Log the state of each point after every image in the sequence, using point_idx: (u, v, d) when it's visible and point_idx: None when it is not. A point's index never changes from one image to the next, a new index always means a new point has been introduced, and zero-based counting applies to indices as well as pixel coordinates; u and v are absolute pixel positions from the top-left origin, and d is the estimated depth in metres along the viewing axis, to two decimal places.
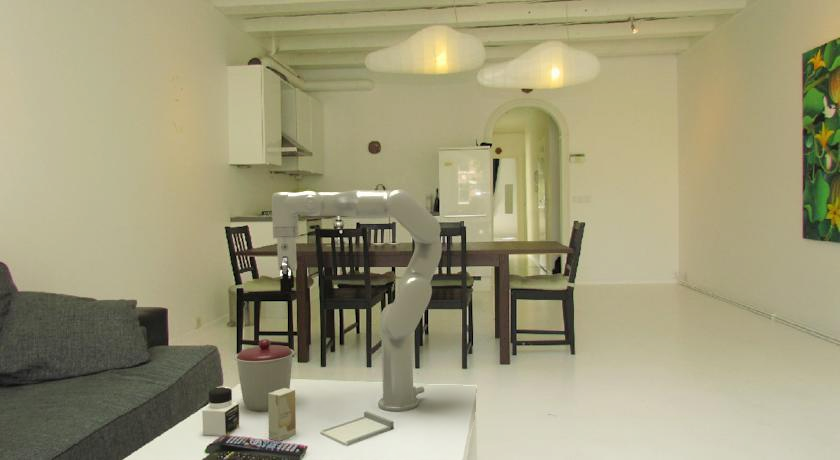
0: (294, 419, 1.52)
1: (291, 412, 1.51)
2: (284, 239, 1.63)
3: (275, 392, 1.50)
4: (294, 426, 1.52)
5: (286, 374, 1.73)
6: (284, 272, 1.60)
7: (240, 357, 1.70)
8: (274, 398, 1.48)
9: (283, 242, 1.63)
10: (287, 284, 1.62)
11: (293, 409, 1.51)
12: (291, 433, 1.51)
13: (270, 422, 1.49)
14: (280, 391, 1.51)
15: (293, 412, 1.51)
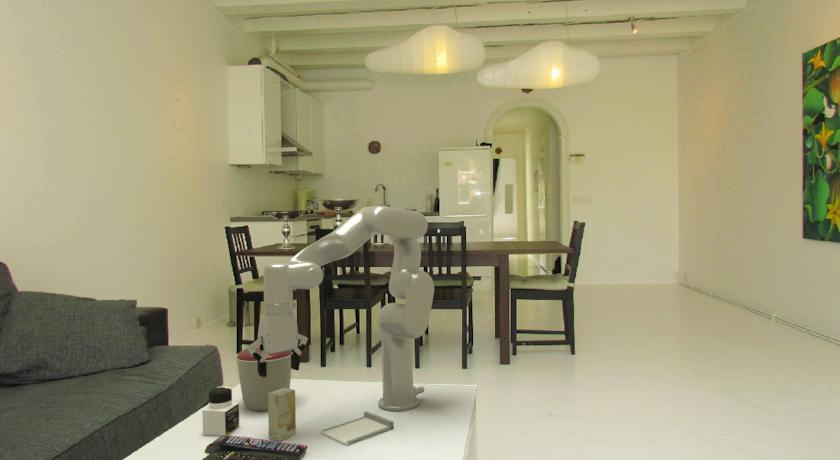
0: (294, 419, 1.52)
1: (291, 412, 1.51)
2: None
3: (275, 392, 1.50)
4: (294, 426, 1.52)
5: (286, 374, 1.73)
6: None
7: (240, 357, 1.70)
8: (274, 398, 1.48)
9: None
10: None
11: (293, 409, 1.51)
12: (291, 433, 1.51)
13: (270, 422, 1.49)
14: (280, 391, 1.50)
15: (293, 412, 1.51)
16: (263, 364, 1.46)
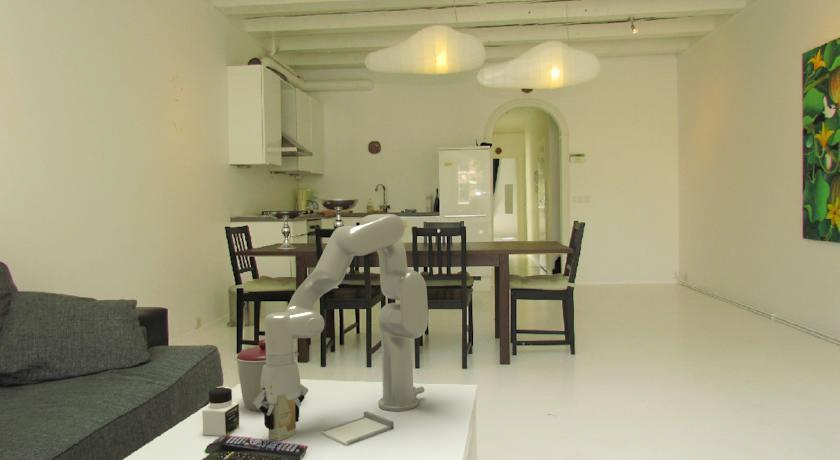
0: (294, 419, 1.52)
1: (292, 412, 1.51)
2: None
3: None
4: (294, 426, 1.52)
5: None
6: None
7: (240, 357, 1.70)
8: None
9: None
10: None
11: (293, 409, 1.51)
12: (291, 433, 1.51)
13: None
14: None
15: (293, 412, 1.51)
16: (270, 417, 1.47)
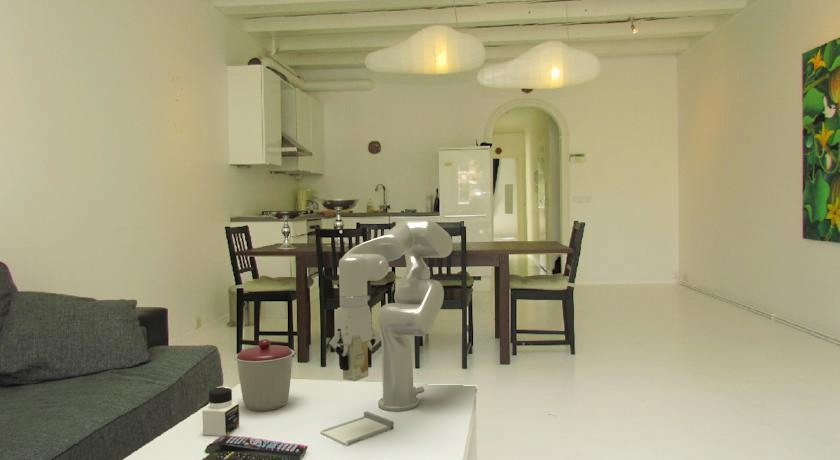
0: (367, 361, 1.54)
1: (365, 354, 1.53)
2: None
3: None
4: (367, 368, 1.54)
5: (286, 374, 1.73)
6: None
7: (240, 357, 1.70)
8: None
9: None
10: None
11: (366, 351, 1.53)
12: (364, 375, 1.53)
13: None
14: None
15: (366, 354, 1.53)
16: (345, 358, 1.49)
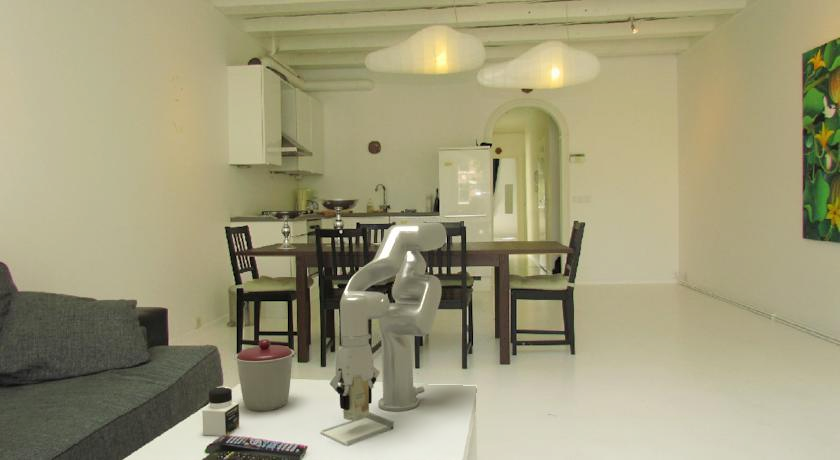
0: (367, 400, 1.54)
1: (365, 393, 1.53)
2: None
3: None
4: (367, 407, 1.54)
5: (286, 374, 1.73)
6: None
7: (240, 357, 1.70)
8: None
9: None
10: None
11: (367, 390, 1.53)
12: (365, 414, 1.53)
13: None
14: None
15: (367, 393, 1.53)
16: (346, 397, 1.49)
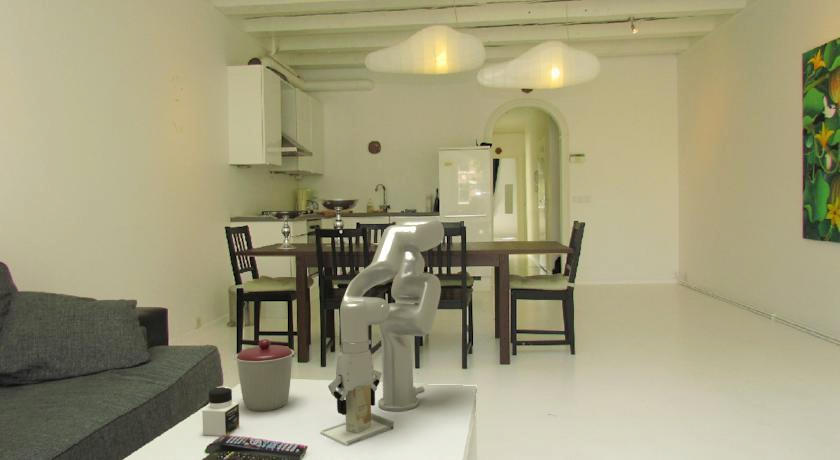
0: (370, 412, 1.54)
1: (367, 405, 1.53)
2: None
3: None
4: (370, 419, 1.54)
5: (286, 374, 1.73)
6: None
7: (240, 357, 1.70)
8: (351, 391, 1.50)
9: None
10: None
11: (369, 402, 1.54)
12: (367, 425, 1.53)
13: (348, 414, 1.51)
14: None
15: (369, 405, 1.54)
16: (343, 402, 1.48)
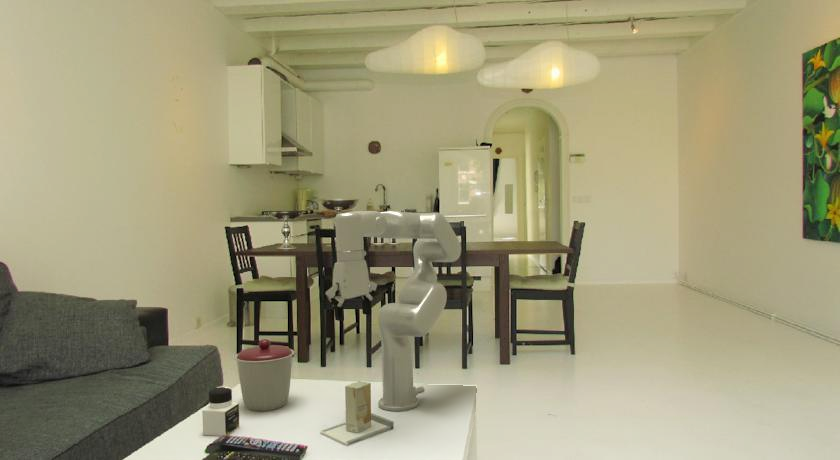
0: (370, 412, 1.54)
1: (367, 405, 1.53)
2: None
3: (352, 385, 1.52)
4: (370, 419, 1.54)
5: (286, 374, 1.73)
6: None
7: (240, 357, 1.70)
8: (351, 391, 1.50)
9: None
10: None
11: (369, 402, 1.54)
12: (367, 425, 1.53)
13: (348, 414, 1.51)
14: (356, 384, 1.53)
15: (369, 405, 1.54)
16: (340, 308, 1.52)
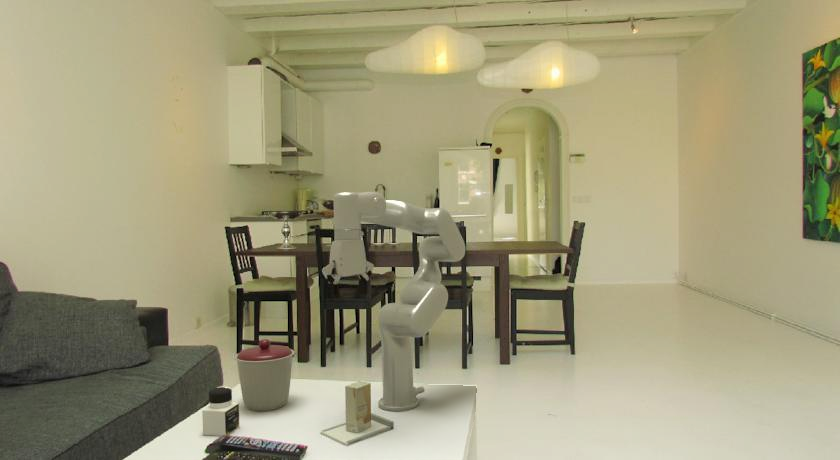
0: (370, 412, 1.54)
1: (367, 405, 1.53)
2: None
3: (352, 385, 1.52)
4: (370, 419, 1.54)
5: (286, 374, 1.73)
6: None
7: (240, 357, 1.70)
8: (351, 391, 1.50)
9: None
10: None
11: (369, 402, 1.54)
12: (367, 425, 1.53)
13: (348, 414, 1.51)
14: (356, 384, 1.53)
15: (369, 405, 1.54)
16: (336, 286, 1.54)
